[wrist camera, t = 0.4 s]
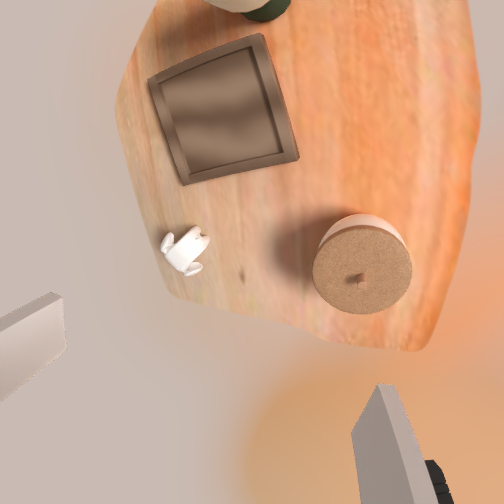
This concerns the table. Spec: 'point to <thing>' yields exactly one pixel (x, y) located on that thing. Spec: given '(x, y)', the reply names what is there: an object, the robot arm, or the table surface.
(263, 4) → the character mug
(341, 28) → the table surface
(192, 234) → the elephant figurine
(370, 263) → the lidded jar
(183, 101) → the walnut tray
